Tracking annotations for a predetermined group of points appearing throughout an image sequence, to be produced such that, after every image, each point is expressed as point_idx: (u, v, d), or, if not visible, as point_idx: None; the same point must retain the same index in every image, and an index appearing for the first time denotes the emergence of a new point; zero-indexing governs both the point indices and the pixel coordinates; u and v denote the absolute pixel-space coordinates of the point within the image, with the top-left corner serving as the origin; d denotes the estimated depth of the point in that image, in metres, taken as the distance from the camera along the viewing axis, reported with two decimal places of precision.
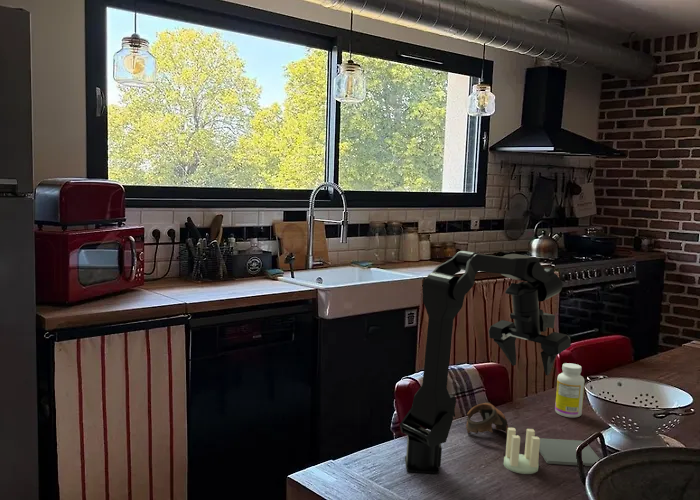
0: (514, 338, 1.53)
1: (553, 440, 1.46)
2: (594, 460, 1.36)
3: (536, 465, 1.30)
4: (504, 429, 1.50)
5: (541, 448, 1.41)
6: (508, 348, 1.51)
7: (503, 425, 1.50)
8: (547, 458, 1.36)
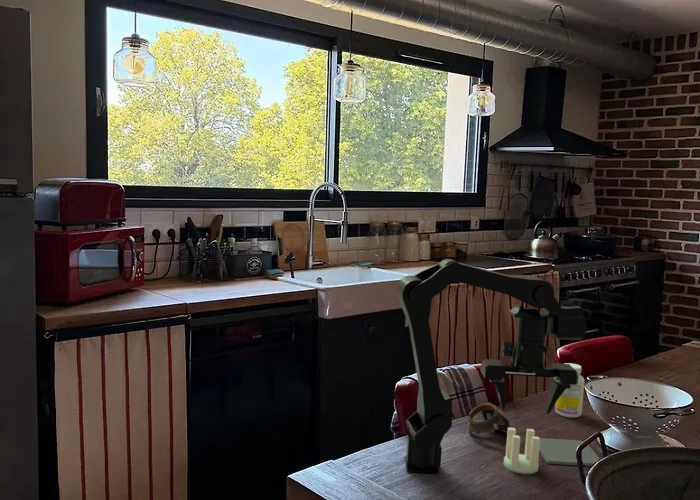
0: None
1: (553, 440, 1.46)
2: (594, 460, 1.36)
3: (536, 465, 1.30)
4: (506, 429, 1.50)
5: (541, 448, 1.41)
6: None
7: (505, 425, 1.50)
8: (547, 458, 1.36)
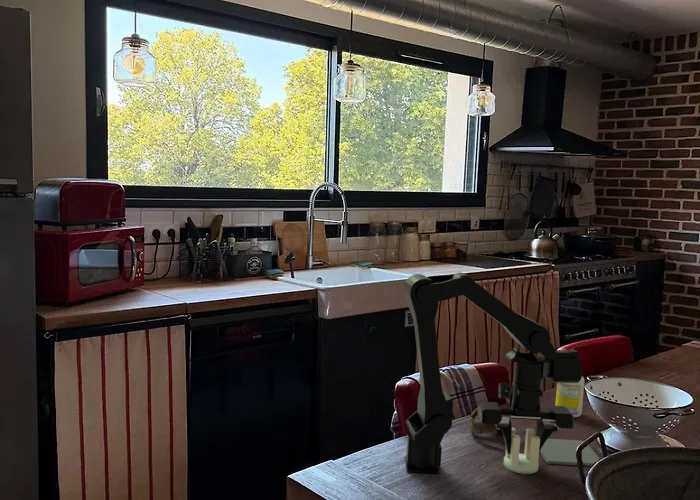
0: None
1: (553, 440, 1.46)
2: (594, 460, 1.36)
3: (536, 465, 1.30)
4: None
5: (541, 448, 1.41)
6: None
7: None
8: (547, 458, 1.36)
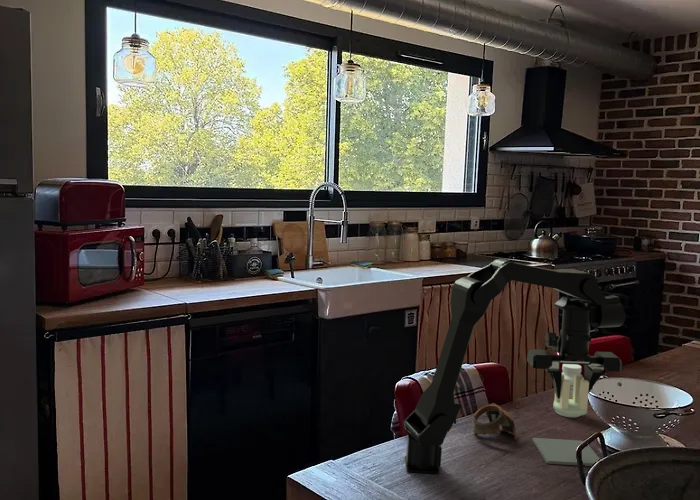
0: None
1: (553, 440, 1.46)
2: (594, 460, 1.36)
3: (585, 407, 1.36)
4: (511, 430, 1.50)
5: (541, 448, 1.41)
6: None
7: (510, 426, 1.49)
8: (547, 458, 1.36)
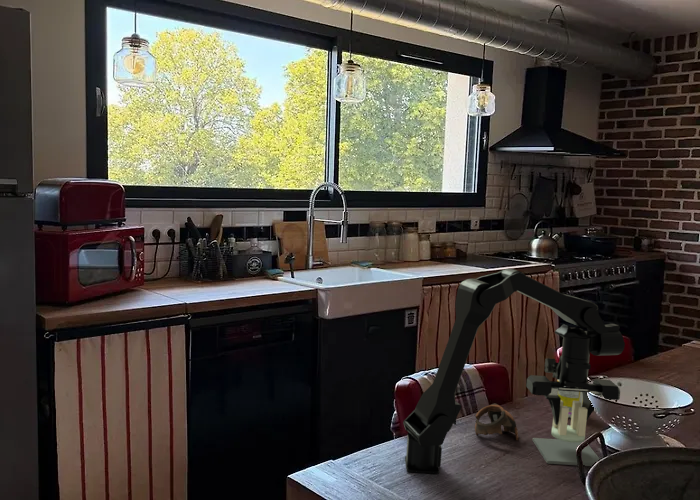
0: None
1: (553, 440, 1.46)
2: (594, 460, 1.36)
3: (583, 434, 1.37)
4: (512, 431, 1.50)
5: (541, 448, 1.41)
6: None
7: (511, 427, 1.49)
8: (547, 458, 1.36)
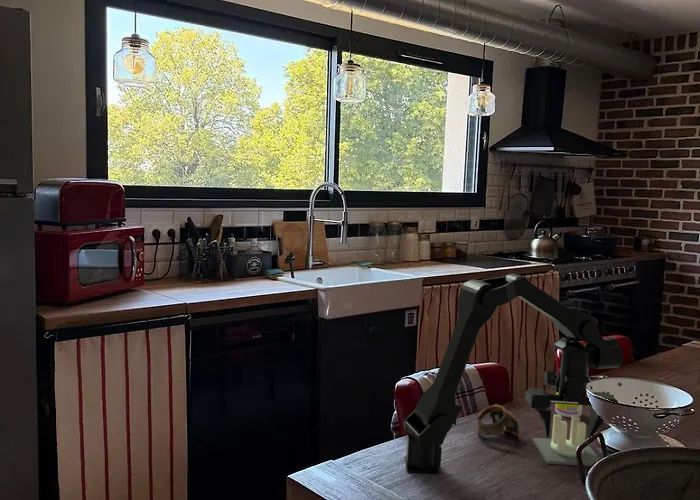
0: None
1: None
2: (594, 460, 1.36)
3: None
4: (514, 431, 1.49)
5: (541, 448, 1.41)
6: None
7: (513, 427, 1.49)
8: (547, 458, 1.36)
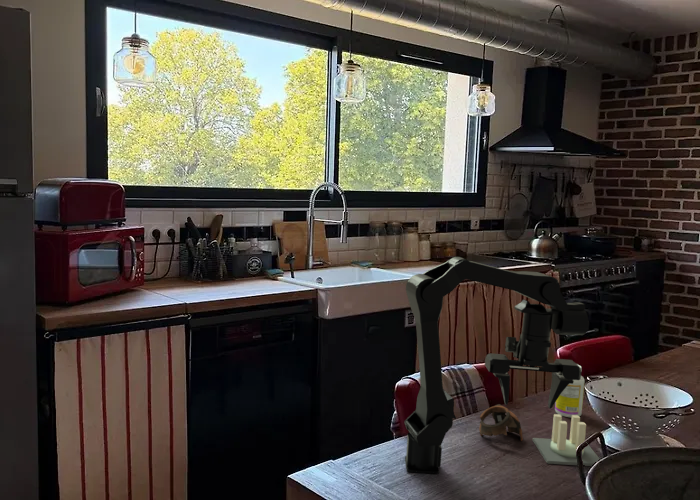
0: None
1: None
2: (594, 460, 1.36)
3: None
4: (517, 431, 1.49)
5: (541, 448, 1.41)
6: None
7: (516, 427, 1.49)
8: (547, 458, 1.36)
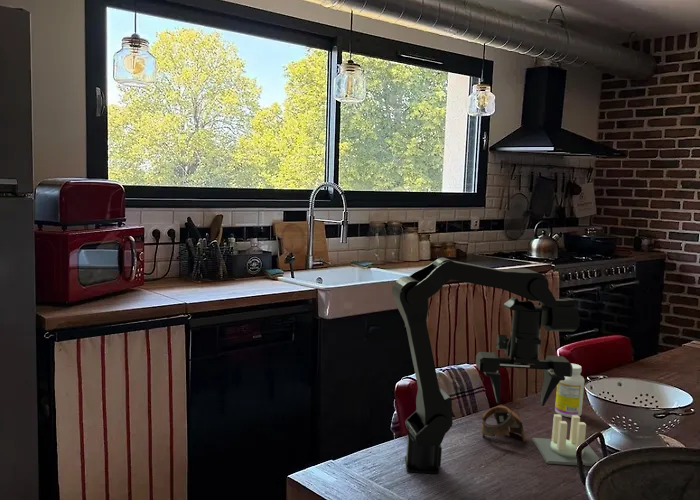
0: None
1: None
2: (594, 460, 1.36)
3: None
4: (519, 432, 1.49)
5: (541, 448, 1.41)
6: None
7: (518, 428, 1.49)
8: (547, 458, 1.36)
